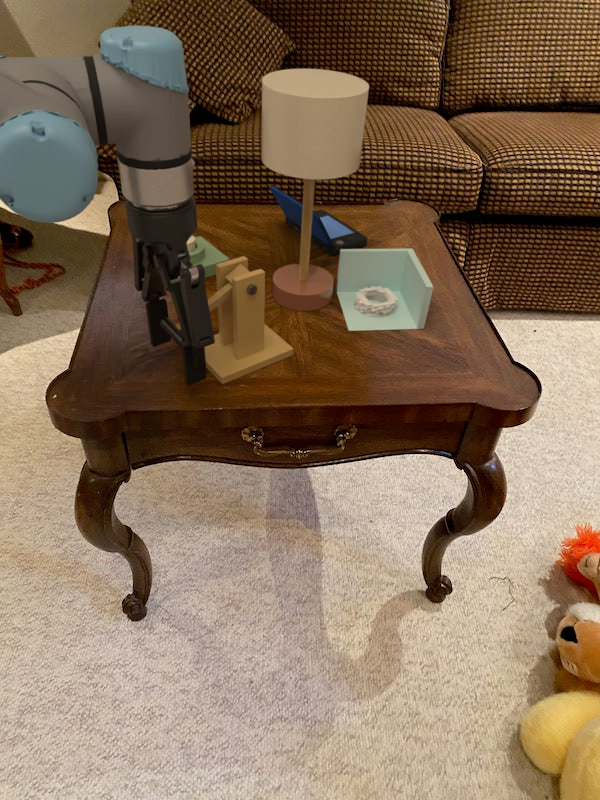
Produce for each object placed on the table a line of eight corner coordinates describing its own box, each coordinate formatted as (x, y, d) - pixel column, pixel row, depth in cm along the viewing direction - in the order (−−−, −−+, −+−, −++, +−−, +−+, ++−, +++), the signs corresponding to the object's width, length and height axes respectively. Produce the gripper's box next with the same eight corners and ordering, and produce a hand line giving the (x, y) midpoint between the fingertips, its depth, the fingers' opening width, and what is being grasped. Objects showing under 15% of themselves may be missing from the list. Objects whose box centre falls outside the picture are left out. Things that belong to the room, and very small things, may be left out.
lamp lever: (185, 353, 75) (176, 342, 73) (164, 332, 78) (156, 320, 76) (263, 289, 77) (256, 276, 75) (240, 270, 80) (233, 258, 78)
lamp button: (178, 256, 98) (177, 246, 97) (167, 246, 100) (166, 236, 99) (200, 250, 100) (199, 240, 98) (188, 240, 102) (187, 231, 101)
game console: (370, 246, 112) (376, 198, 105) (313, 263, 106) (316, 214, 99) (321, 214, 121) (325, 169, 115) (266, 228, 115) (267, 181, 109)
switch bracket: (222, 384, 80) (218, 297, 70) (189, 350, 85) (181, 265, 75) (293, 355, 85) (298, 270, 76) (258, 325, 90) (259, 242, 81)
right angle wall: (336, 289, 99) (340, 249, 94) (404, 288, 101) (412, 248, 96) (348, 330, 90) (354, 288, 85) (423, 328, 92) (433, 287, 87)
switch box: (167, 289, 97) (165, 267, 94) (140, 263, 102) (137, 242, 100) (230, 270, 102) (229, 249, 100) (201, 246, 108) (200, 226, 105)
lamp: (293, 328, 90) (305, 103, 69) (243, 287, 98) (241, 75, 77) (361, 301, 97) (391, 89, 76) (310, 265, 105) (324, 64, 84)
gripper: (243, 228, 59) (246, 395, 74) (146, 158, 71) (165, 313, 86) (176, 246, 55) (193, 418, 70) (87, 169, 68) (117, 329, 83)
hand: (178, 360), depth 78 cm, fingers open, 9 cm apart
